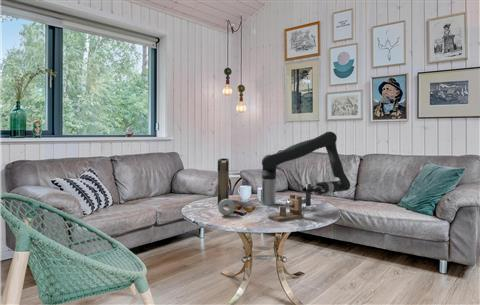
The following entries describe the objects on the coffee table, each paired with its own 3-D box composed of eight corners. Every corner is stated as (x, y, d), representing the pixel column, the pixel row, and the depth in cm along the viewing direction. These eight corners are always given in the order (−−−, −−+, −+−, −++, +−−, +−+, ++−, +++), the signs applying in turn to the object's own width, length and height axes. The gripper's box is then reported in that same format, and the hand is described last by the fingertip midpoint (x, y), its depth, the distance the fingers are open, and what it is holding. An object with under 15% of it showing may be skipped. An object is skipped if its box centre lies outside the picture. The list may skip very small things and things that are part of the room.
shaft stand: (268, 218, 203) (268, 197, 203) (292, 214, 214) (292, 194, 214) (278, 221, 196) (279, 200, 195) (303, 217, 207) (303, 196, 206)
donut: (218, 216, 207) (218, 199, 206) (217, 215, 210) (217, 198, 209) (235, 216, 208) (235, 199, 207) (234, 214, 211) (234, 198, 211)
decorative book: (228, 205, 237) (228, 160, 235) (217, 205, 237) (217, 160, 235) (229, 198, 260) (229, 157, 258) (219, 198, 260) (219, 157, 258)
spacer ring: (287, 208, 210) (287, 198, 210) (290, 208, 212) (290, 198, 211) (296, 210, 205) (296, 200, 204) (298, 210, 206) (298, 199, 205)
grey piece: (285, 208, 207) (285, 186, 206) (308, 204, 217) (308, 183, 217) (289, 209, 204) (289, 186, 203) (311, 205, 215) (312, 184, 214)
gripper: (316, 180, 228) (296, 182, 218) (333, 183, 217) (313, 185, 207) (316, 192, 229) (296, 194, 219) (333, 195, 218) (313, 198, 208)
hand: (305, 190), depth 213 cm, fingers closed on grey piece, 3 cm apart
